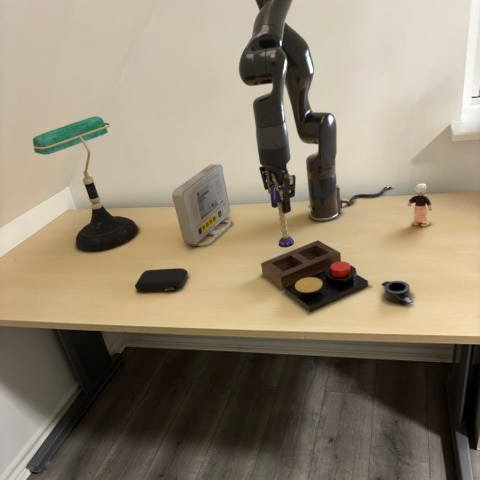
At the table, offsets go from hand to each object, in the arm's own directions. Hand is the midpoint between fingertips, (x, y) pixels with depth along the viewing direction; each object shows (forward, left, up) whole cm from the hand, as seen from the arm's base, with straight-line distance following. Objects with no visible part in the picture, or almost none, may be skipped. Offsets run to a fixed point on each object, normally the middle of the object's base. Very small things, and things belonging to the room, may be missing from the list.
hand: (281, 209), depth 128 cm
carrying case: (+31, -22, -20) cm, 43 cm away
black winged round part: (-14, +27, -20) cm, 37 cm away
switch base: (-3, +13, -20) cm, 24 cm away
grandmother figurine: (-46, +1, -20) cm, 51 cm away
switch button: (-8, +13, -17) cm, 23 cm away
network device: (+5, -44, -20) cm, 49 cm away
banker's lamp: (+35, -71, -20) cm, 82 cm away
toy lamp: (0, 0, -10) cm, 10 cm away
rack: (-4, 0, -20) cm, 21 cm away
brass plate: (+2, +13, -17) cm, 21 cm away
